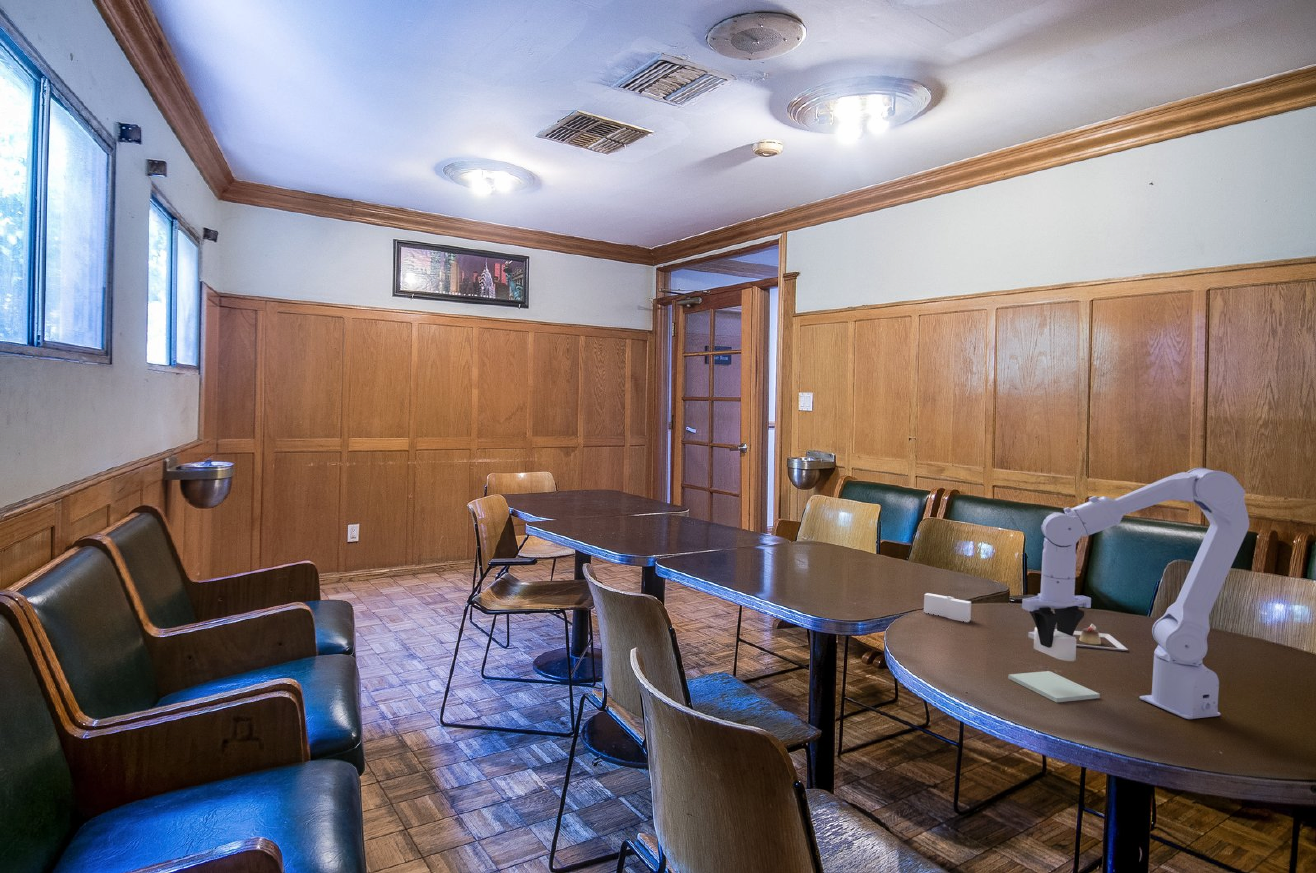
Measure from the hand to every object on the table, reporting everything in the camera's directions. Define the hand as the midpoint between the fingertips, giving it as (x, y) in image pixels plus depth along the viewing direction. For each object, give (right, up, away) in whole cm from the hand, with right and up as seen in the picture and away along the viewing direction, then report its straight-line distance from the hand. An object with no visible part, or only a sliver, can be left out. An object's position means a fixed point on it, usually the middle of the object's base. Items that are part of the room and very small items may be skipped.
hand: (1054, 645), depth 140 cm
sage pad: (0, -8, 0) cm, 8 cm away
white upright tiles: (-2, -7, +48) cm, 48 cm away
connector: (0, -2, 0) cm, 2 cm away
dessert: (+25, -9, +31) cm, 41 cm away
